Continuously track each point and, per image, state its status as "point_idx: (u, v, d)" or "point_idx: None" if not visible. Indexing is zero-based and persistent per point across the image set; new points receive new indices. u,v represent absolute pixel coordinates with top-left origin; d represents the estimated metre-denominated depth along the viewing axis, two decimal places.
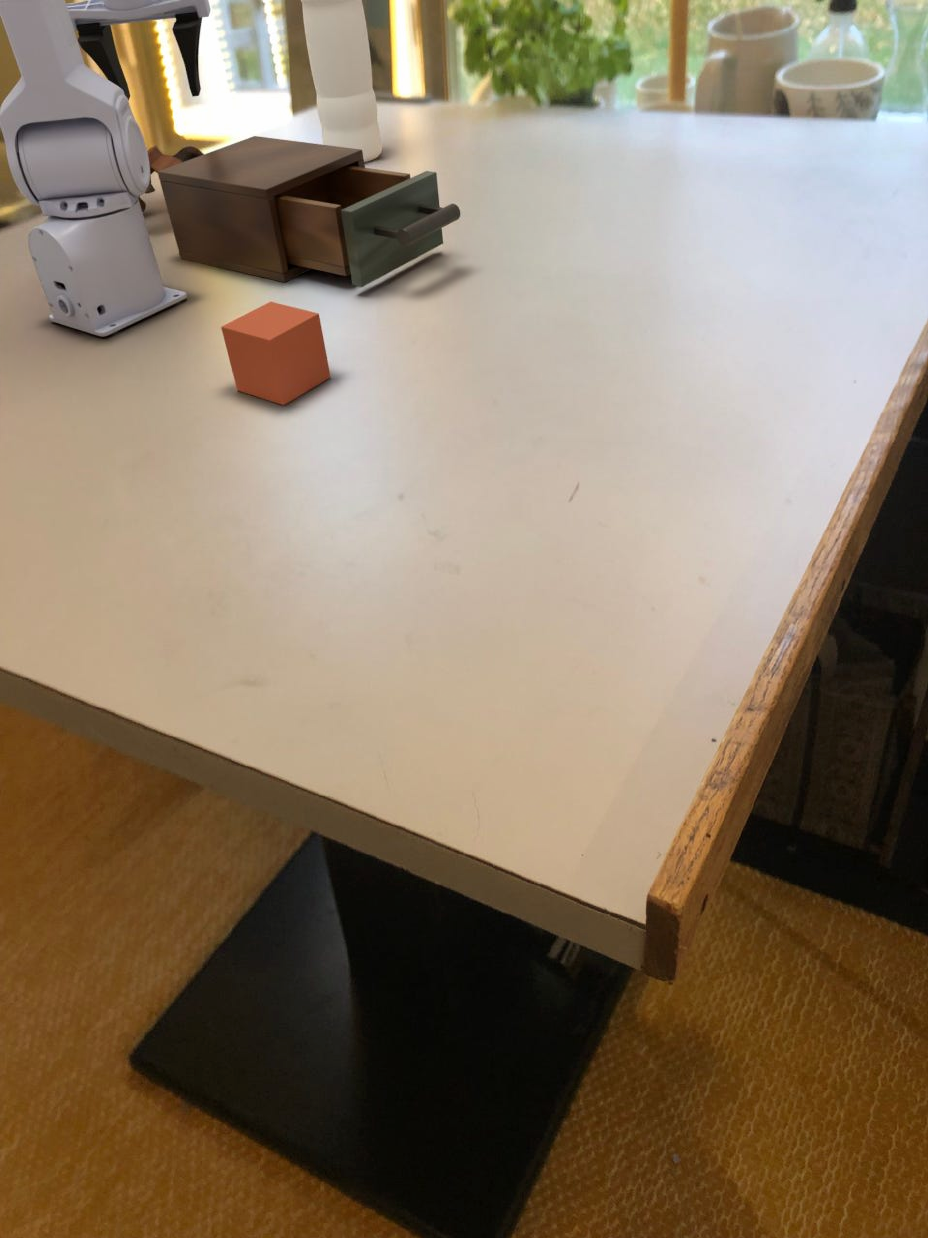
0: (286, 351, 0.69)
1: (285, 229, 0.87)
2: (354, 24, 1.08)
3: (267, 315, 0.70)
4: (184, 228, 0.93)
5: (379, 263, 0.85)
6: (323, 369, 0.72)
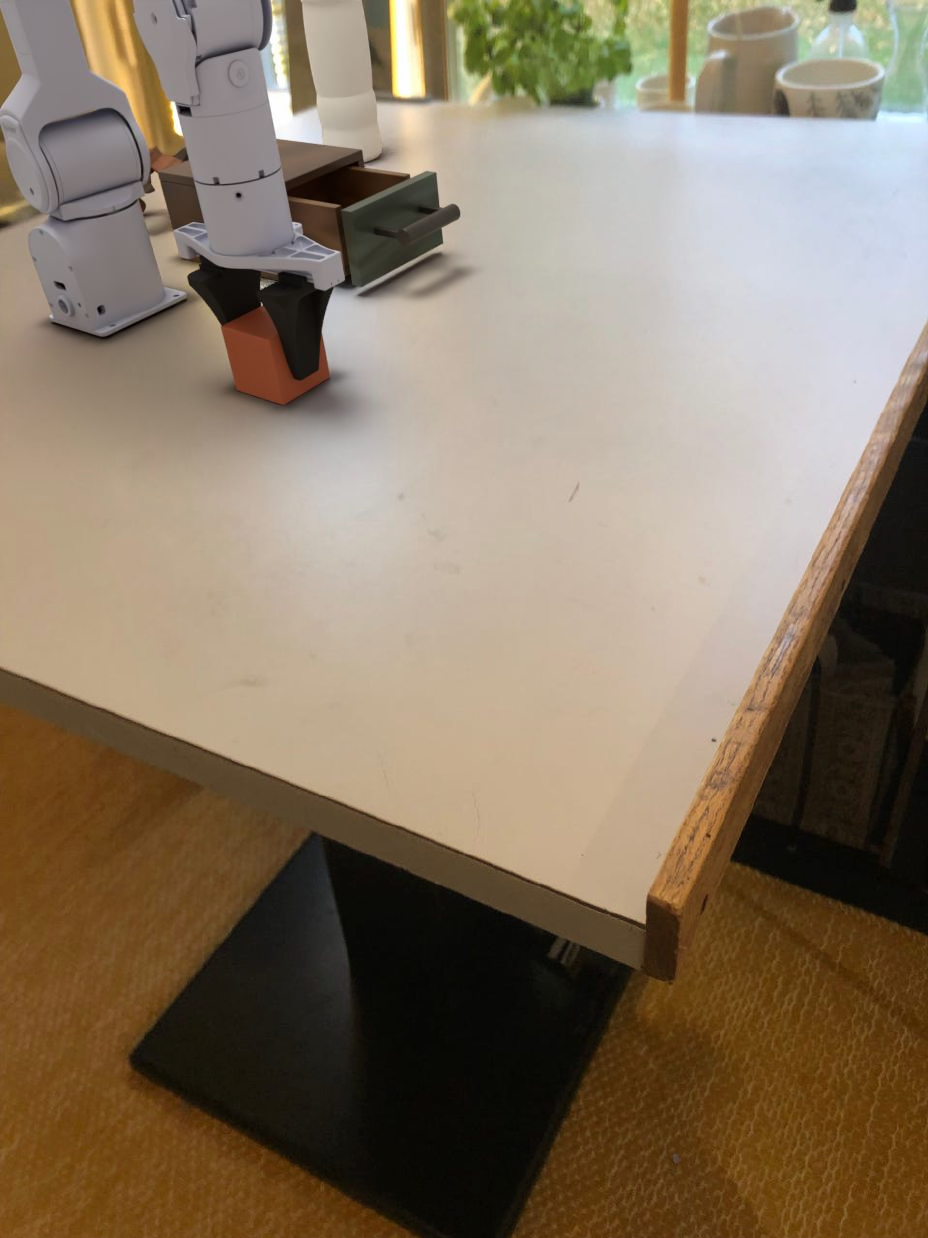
0: None
1: None
2: (354, 24, 1.08)
3: (267, 315, 0.70)
4: None
5: (379, 263, 0.85)
6: (323, 369, 0.72)
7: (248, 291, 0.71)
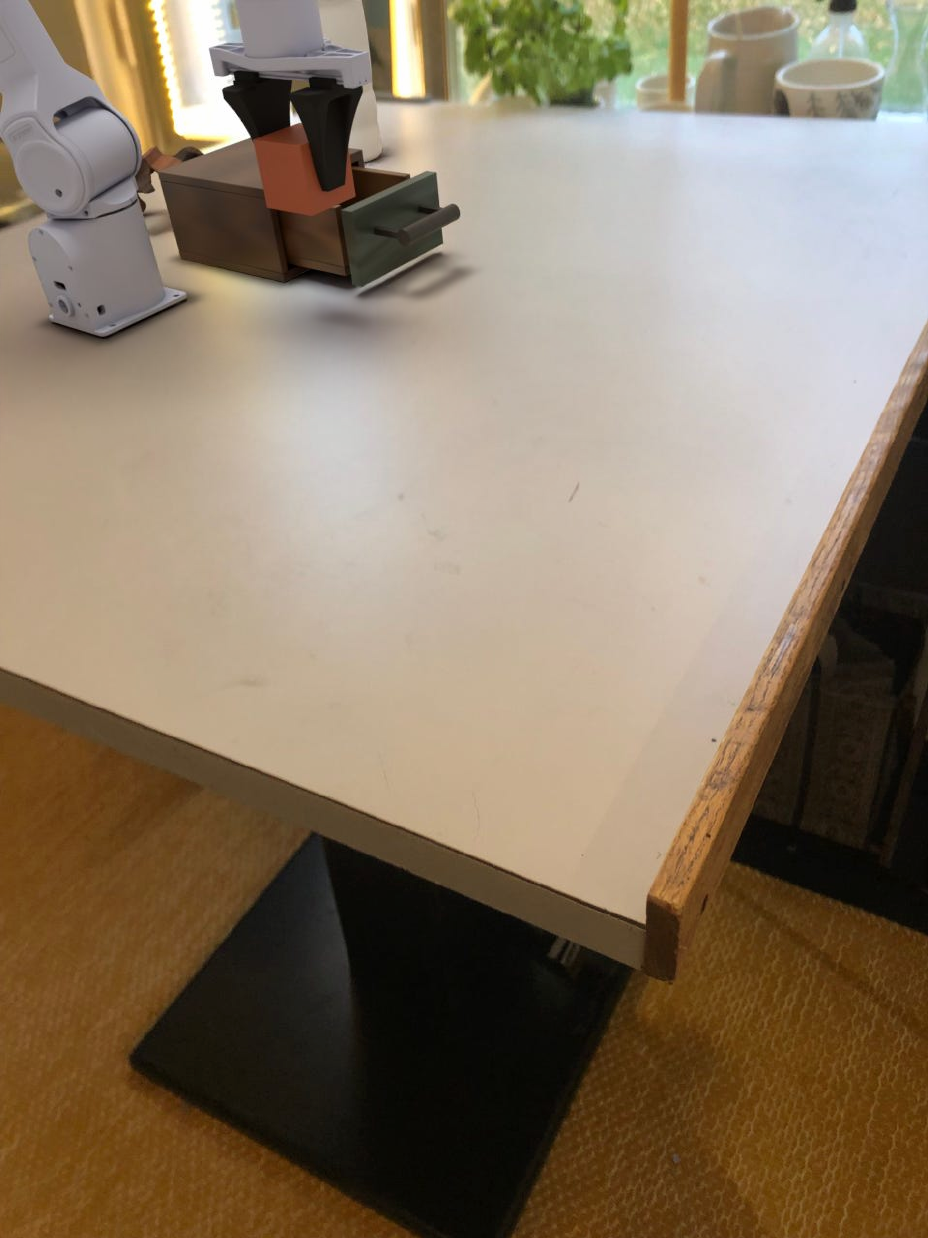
0: None
1: (285, 229, 0.87)
2: (354, 24, 1.08)
3: (297, 131, 0.74)
4: (184, 228, 0.93)
5: (379, 263, 0.85)
6: (348, 187, 0.76)
7: (279, 109, 0.75)
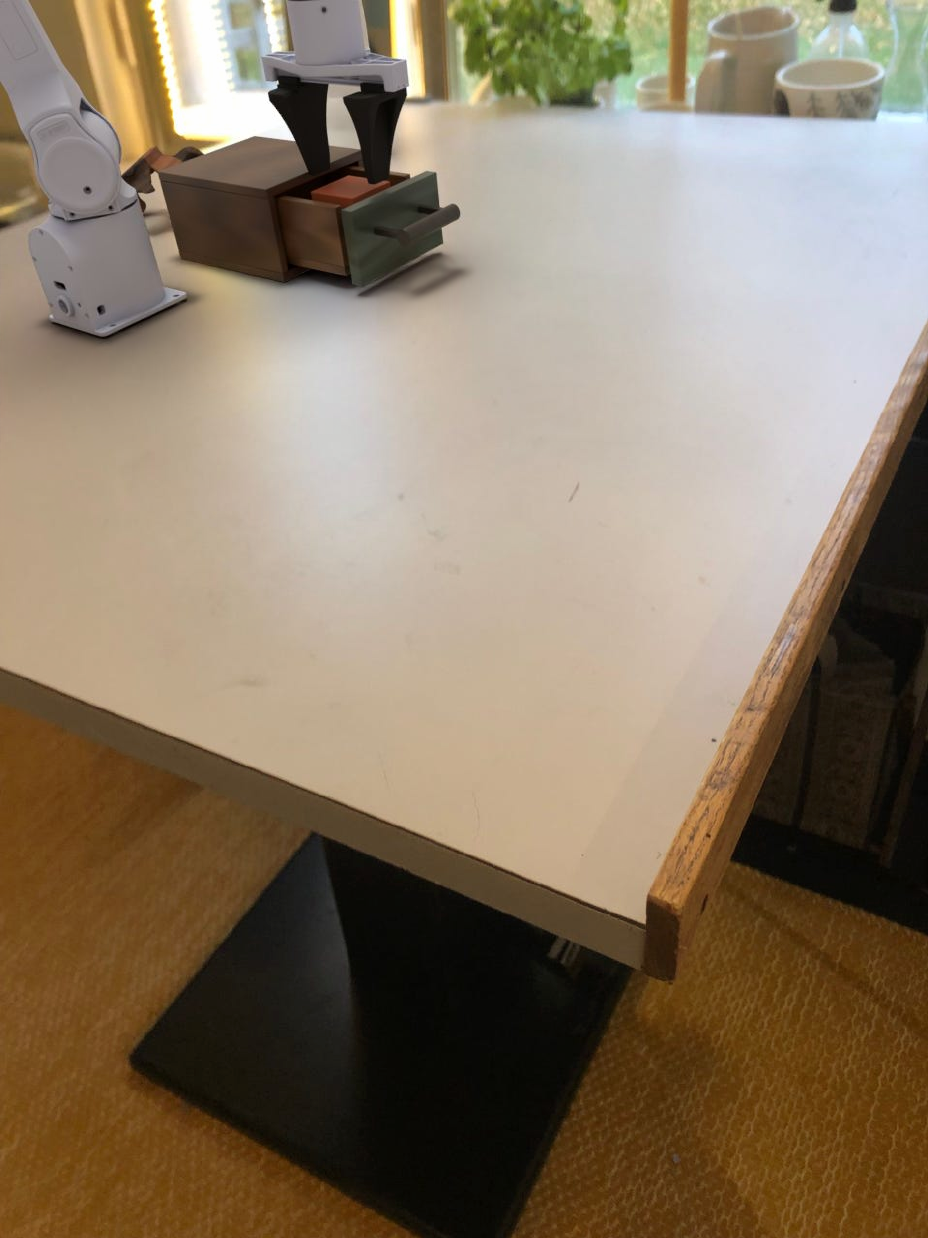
0: None
1: (285, 229, 0.87)
2: None
3: (347, 184, 0.87)
4: (184, 228, 0.93)
5: (379, 263, 0.85)
6: None
7: (317, 109, 0.85)
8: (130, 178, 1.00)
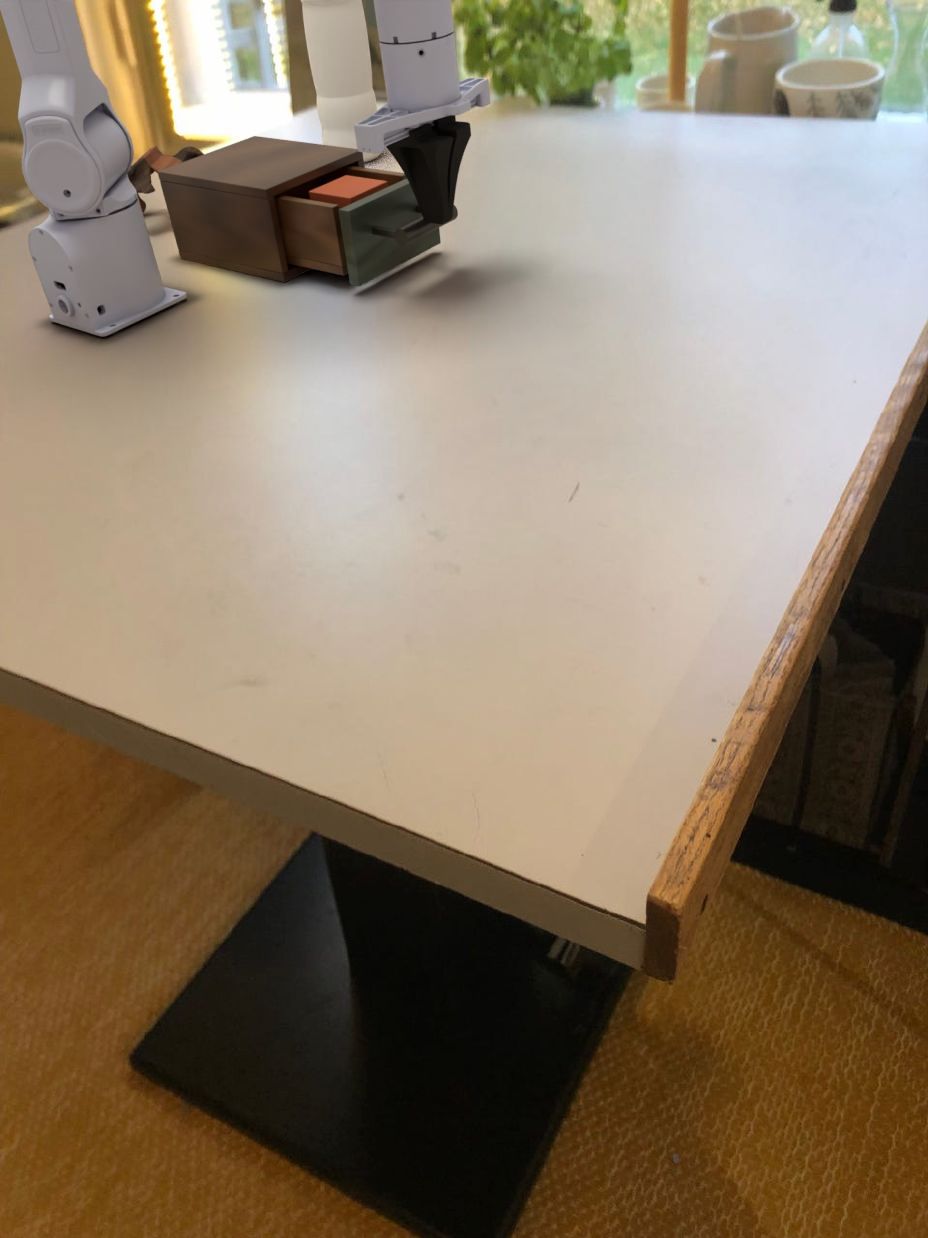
0: None
1: (283, 229, 0.87)
2: (354, 24, 1.08)
3: (345, 183, 0.87)
4: (184, 228, 0.93)
5: (377, 262, 0.85)
6: None
7: None
8: (130, 178, 1.00)
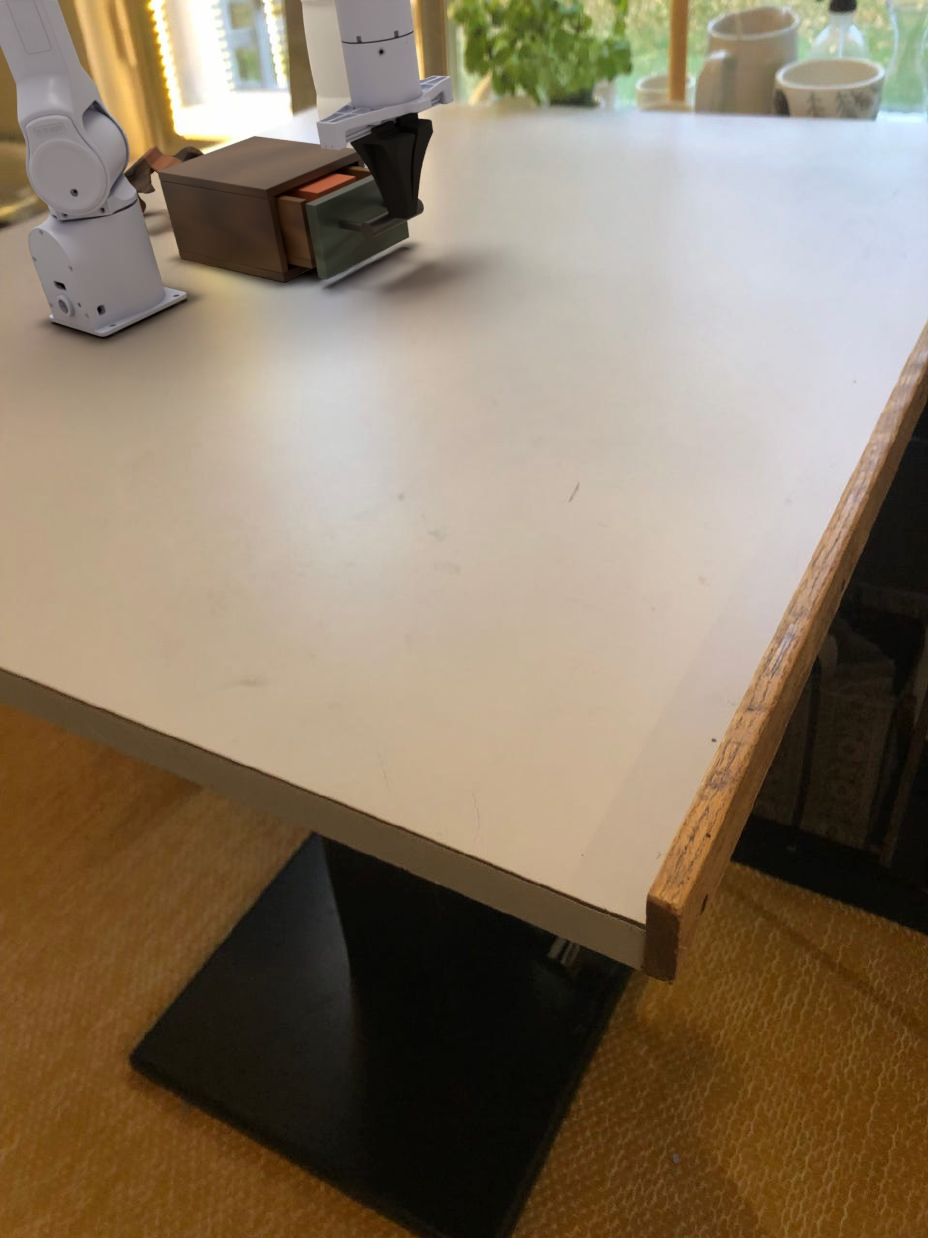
0: None
1: None
2: None
3: None
4: (184, 228, 0.93)
5: (344, 256, 0.87)
6: None
7: None
8: (130, 178, 1.00)
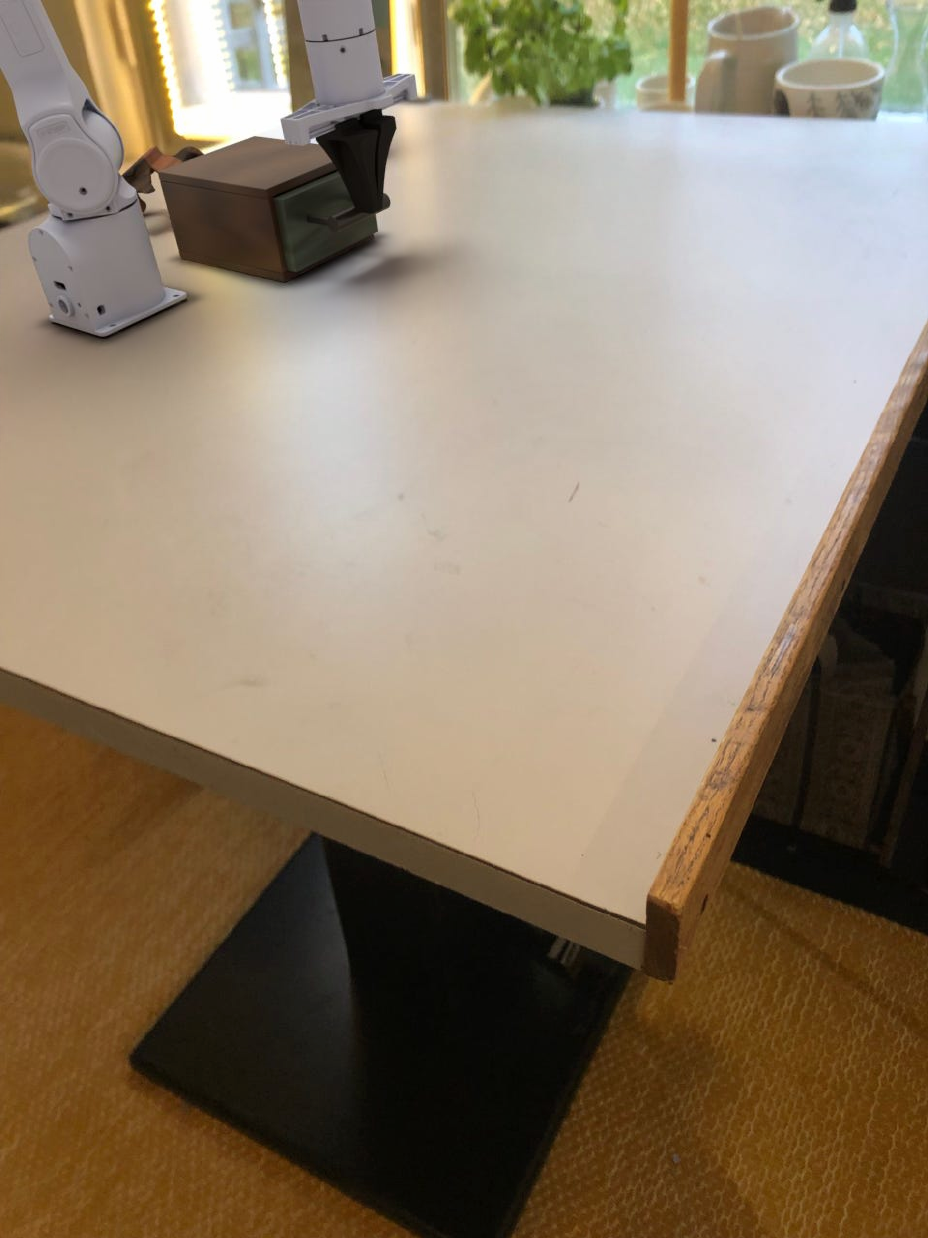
0: None
1: None
2: None
3: None
4: (184, 228, 0.93)
5: (313, 249, 0.89)
6: None
7: None
8: (130, 178, 1.00)
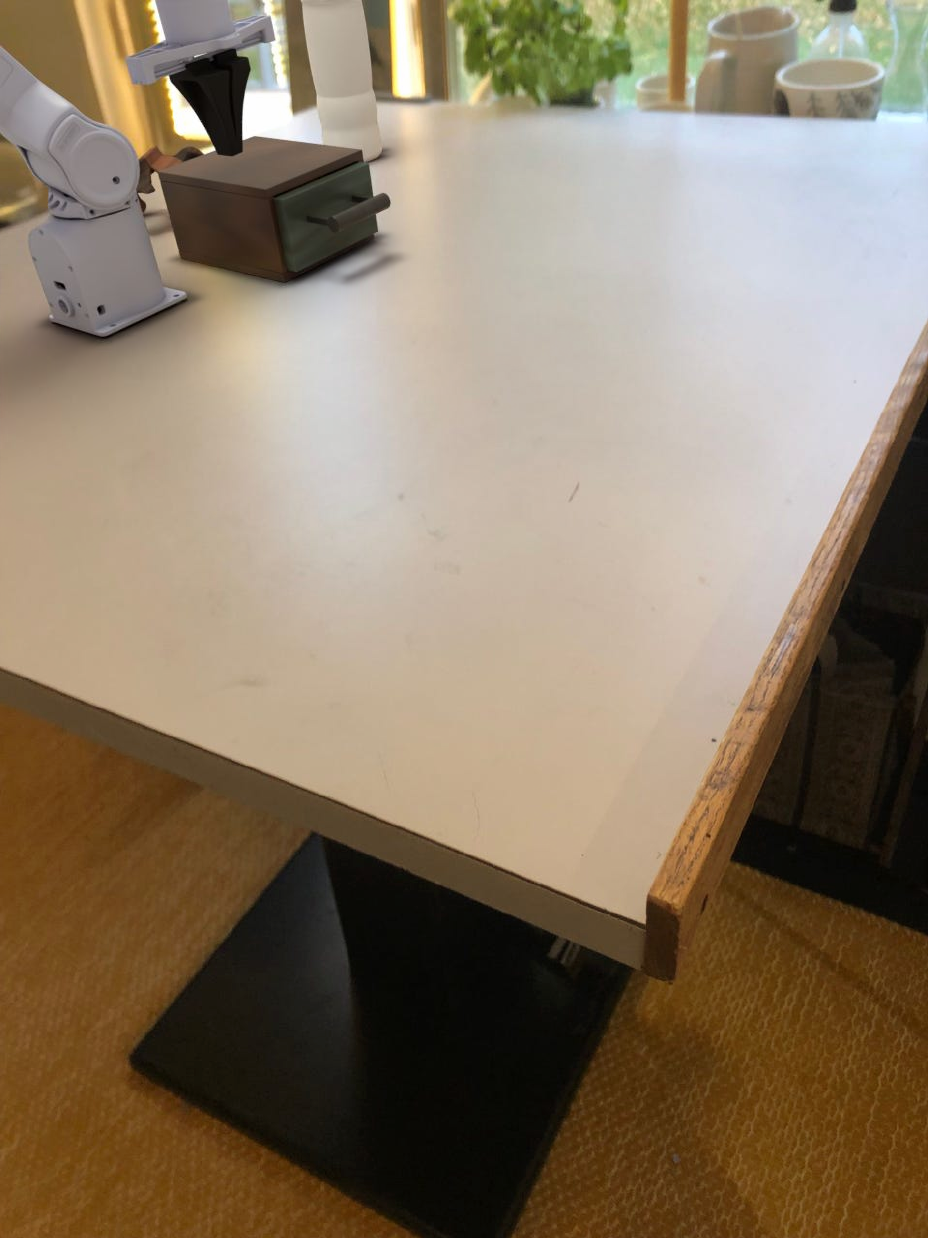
0: None
1: None
2: (354, 24, 1.08)
3: None
4: (184, 228, 0.93)
5: (313, 249, 0.89)
6: None
7: None
8: None
